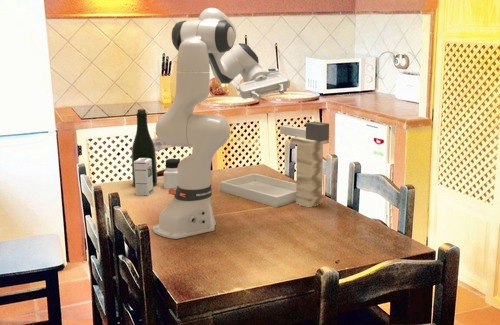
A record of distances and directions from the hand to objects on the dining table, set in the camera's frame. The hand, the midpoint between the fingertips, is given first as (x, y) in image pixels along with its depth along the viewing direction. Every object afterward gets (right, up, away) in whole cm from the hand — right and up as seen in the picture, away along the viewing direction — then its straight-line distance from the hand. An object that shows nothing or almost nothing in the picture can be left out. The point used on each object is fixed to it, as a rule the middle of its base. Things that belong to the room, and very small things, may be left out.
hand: (271, 94), depth 234 cm
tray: (-2, -39, +15) cm, 42 cm away
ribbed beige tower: (+15, -42, +1) cm, 45 cm away
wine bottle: (-54, -36, +30) cm, 71 cm away
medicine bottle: (-41, -36, +27) cm, 61 cm away
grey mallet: (+12, -16, -3) cm, 20 cm away
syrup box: (-52, -39, +17) cm, 67 cm away
